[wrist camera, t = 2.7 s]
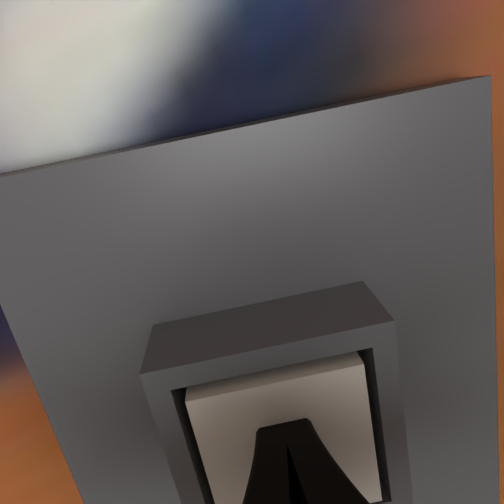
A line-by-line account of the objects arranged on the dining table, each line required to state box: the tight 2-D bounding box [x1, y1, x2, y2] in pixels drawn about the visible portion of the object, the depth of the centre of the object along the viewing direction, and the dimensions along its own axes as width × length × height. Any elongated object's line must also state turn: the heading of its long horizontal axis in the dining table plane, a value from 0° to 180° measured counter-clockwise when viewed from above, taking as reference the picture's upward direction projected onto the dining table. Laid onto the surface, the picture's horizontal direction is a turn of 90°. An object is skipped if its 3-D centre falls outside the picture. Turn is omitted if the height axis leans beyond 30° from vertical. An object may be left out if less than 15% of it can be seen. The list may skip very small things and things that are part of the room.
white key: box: [185, 351, 382, 504], centre depth 13 cm, size 4×4×2 cm
